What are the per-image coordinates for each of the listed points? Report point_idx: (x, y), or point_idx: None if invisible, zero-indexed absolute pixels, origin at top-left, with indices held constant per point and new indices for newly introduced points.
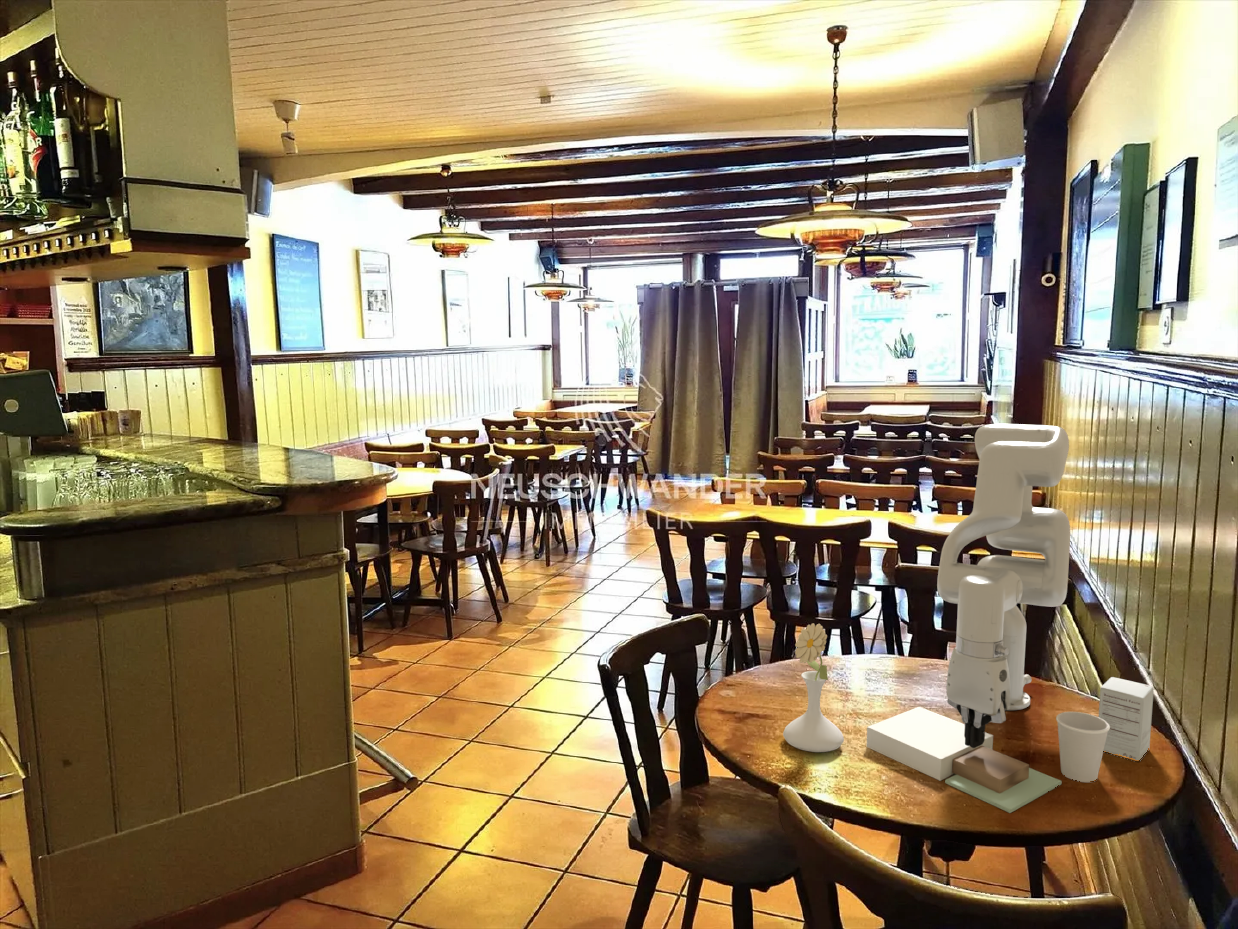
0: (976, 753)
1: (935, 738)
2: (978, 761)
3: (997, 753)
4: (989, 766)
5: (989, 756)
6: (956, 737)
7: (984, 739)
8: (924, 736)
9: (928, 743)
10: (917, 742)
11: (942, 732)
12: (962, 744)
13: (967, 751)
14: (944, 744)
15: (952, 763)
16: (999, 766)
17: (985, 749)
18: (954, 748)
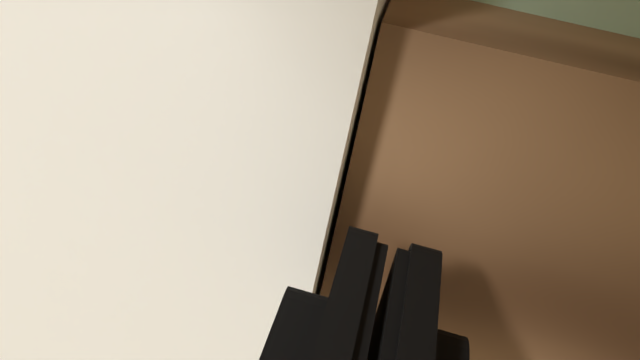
0: (402, 213)
1: (67, 239)
2: (460, 320)
3: (573, 101)
4: (557, 355)
5: (516, 203)
6: (157, 126)
7: (468, 346)
8: (3, 252)
9: (94, 332)
10: (46, 351)
11: (19, 102)
12: (267, 228)
13: (330, 223)
14: (170, 294)
15: None
16: (634, 322)
17: (443, 91)
18: (256, 317)
